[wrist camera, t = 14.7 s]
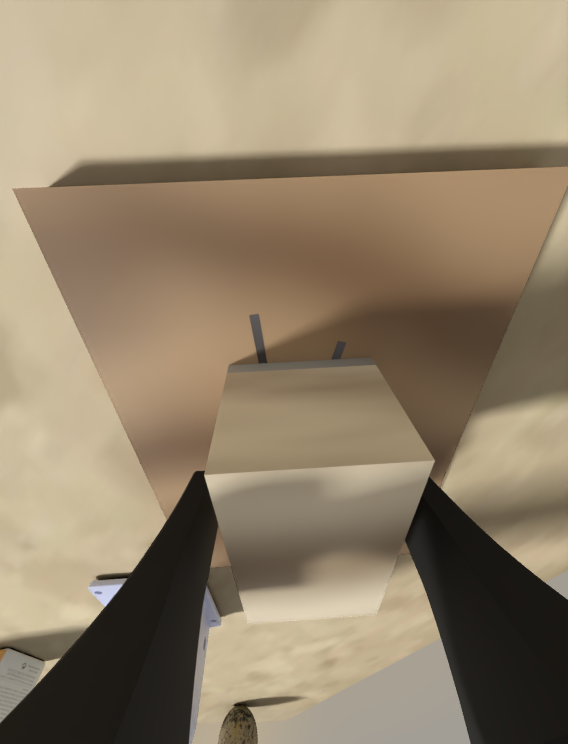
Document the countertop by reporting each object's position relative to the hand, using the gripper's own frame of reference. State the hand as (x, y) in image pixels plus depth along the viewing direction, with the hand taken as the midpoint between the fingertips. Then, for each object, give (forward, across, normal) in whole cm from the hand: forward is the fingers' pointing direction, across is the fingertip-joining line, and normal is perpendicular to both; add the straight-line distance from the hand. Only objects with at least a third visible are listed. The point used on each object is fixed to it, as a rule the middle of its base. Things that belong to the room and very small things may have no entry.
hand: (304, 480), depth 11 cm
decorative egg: (+3, +10, +61) cm, 62 cm away
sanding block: (+1, 0, 0) cm, 1 cm away
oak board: (+3, 0, 0) cm, 3 cm away
